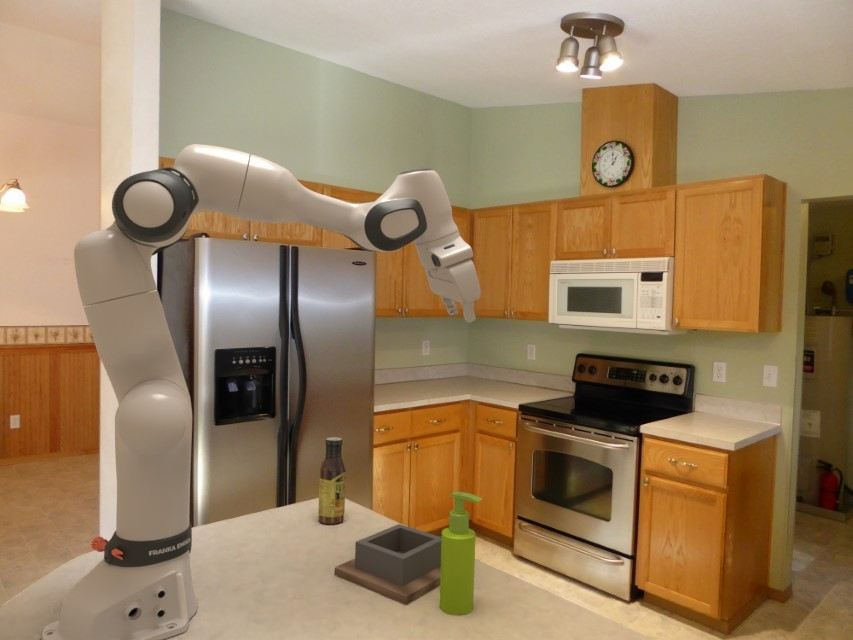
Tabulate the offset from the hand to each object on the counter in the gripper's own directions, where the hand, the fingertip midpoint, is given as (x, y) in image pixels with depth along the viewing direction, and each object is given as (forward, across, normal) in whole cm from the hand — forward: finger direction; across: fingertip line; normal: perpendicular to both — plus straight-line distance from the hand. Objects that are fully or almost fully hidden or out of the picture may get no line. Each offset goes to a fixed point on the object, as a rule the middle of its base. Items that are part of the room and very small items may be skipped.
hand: (462, 317), depth 119 cm
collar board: (+42, +5, -29) cm, 52 cm away
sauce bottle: (+42, -26, -39) cm, 63 cm away
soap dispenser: (+43, +20, -23) cm, 53 cm away
